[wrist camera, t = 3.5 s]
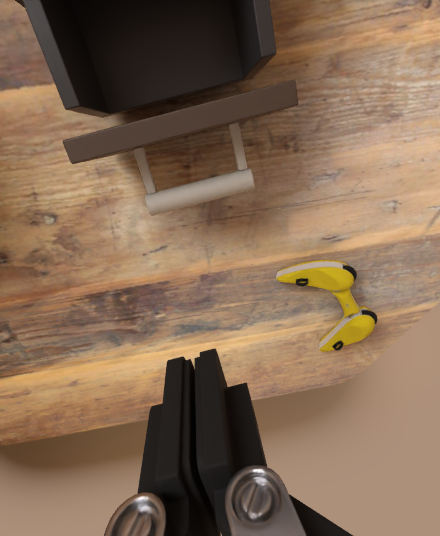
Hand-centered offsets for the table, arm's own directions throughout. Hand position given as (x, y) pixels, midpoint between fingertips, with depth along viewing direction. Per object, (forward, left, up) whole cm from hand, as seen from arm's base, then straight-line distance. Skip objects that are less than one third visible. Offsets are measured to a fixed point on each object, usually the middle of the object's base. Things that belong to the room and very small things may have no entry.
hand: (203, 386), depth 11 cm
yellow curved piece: (-10, +9, -18) cm, 23 cm away
